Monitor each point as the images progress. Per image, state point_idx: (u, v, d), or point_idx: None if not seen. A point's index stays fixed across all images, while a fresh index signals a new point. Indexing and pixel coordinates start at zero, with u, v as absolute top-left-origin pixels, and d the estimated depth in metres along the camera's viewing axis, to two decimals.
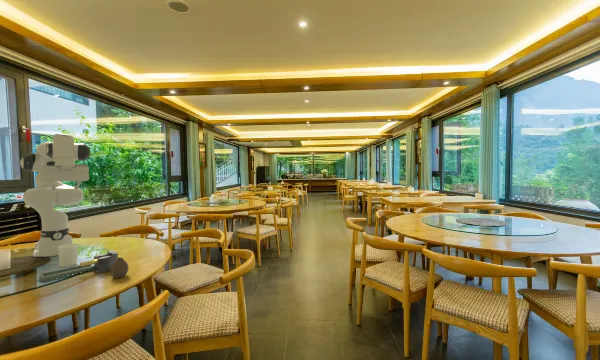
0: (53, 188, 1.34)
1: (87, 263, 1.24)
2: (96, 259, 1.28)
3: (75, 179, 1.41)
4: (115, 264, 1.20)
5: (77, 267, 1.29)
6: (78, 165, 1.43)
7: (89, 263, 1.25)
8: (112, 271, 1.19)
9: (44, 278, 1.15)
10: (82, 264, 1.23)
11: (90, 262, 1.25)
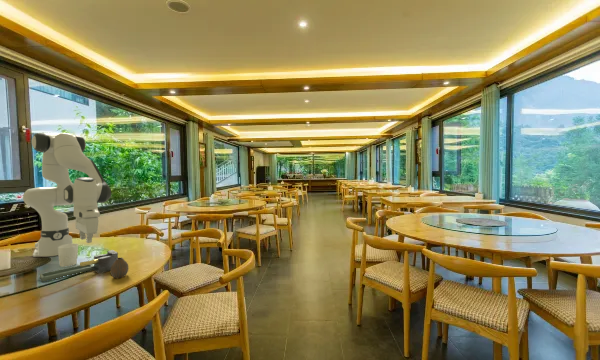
0: None
1: (87, 263, 1.24)
2: (96, 259, 1.28)
3: None
4: (115, 264, 1.20)
5: (77, 267, 1.29)
6: None
7: (89, 263, 1.25)
8: (112, 271, 1.19)
9: (44, 278, 1.15)
10: (82, 264, 1.23)
11: (90, 262, 1.25)
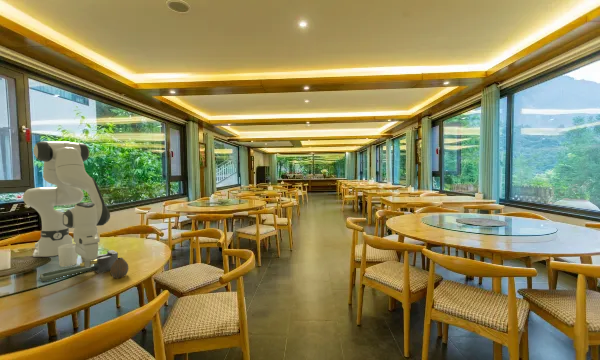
0: None
1: None
2: (96, 259, 1.27)
3: None
4: (115, 264, 1.20)
5: (77, 267, 1.29)
6: None
7: None
8: (112, 271, 1.19)
9: (44, 278, 1.15)
10: (82, 265, 1.23)
11: (90, 262, 1.25)
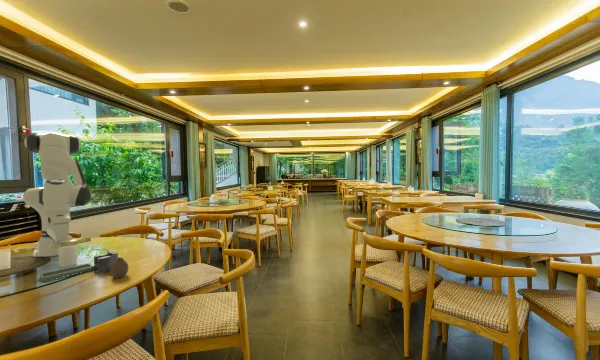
0: None
1: None
2: (68, 241, 1.19)
3: None
4: (115, 264, 1.20)
5: (77, 267, 1.29)
6: None
7: None
8: (112, 271, 1.19)
9: (44, 278, 1.15)
10: (52, 246, 1.14)
11: (61, 244, 1.17)
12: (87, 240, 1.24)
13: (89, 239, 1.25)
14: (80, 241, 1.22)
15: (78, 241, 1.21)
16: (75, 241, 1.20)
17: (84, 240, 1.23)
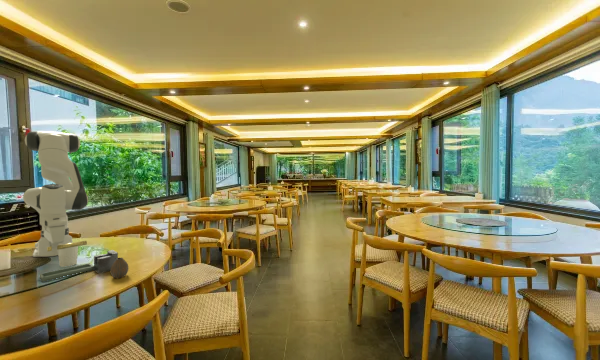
0: (56, 248, 1.19)
1: None
2: (65, 244, 1.23)
3: None
4: (115, 264, 1.20)
5: (77, 267, 1.29)
6: None
7: (57, 248, 1.20)
8: (112, 271, 1.19)
9: (44, 278, 1.15)
10: (49, 249, 1.18)
11: (58, 247, 1.20)
12: (83, 243, 1.28)
13: (85, 242, 1.28)
14: (76, 244, 1.25)
15: (74, 244, 1.25)
16: (71, 244, 1.24)
17: (80, 243, 1.27)
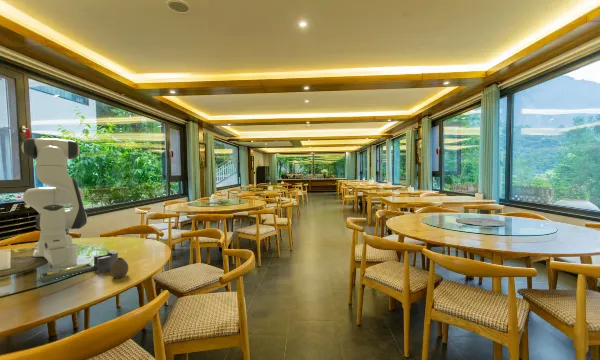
0: None
1: (54, 273, 1.20)
2: None
3: None
4: (115, 264, 1.20)
5: None
6: None
7: (57, 273, 1.20)
8: (112, 271, 1.19)
9: (44, 278, 1.15)
10: (49, 274, 1.18)
11: (58, 272, 1.21)
12: (83, 267, 1.28)
13: (85, 266, 1.29)
14: (76, 269, 1.26)
15: (74, 269, 1.25)
16: (71, 269, 1.24)
17: (80, 268, 1.27)
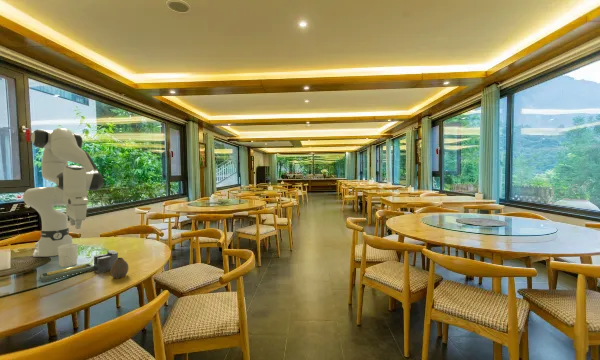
0: None
1: (54, 273, 1.20)
2: None
3: None
4: (115, 264, 1.20)
5: None
6: None
7: (57, 273, 1.20)
8: (112, 271, 1.19)
9: (44, 278, 1.15)
10: (49, 274, 1.18)
11: (58, 272, 1.21)
12: (83, 267, 1.28)
13: (85, 266, 1.29)
14: (76, 268, 1.26)
15: (74, 268, 1.25)
16: (71, 268, 1.25)
17: (80, 267, 1.27)
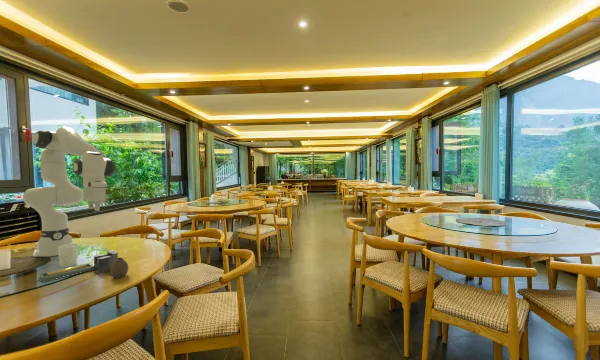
0: None
1: (54, 273, 1.20)
2: (65, 269, 1.23)
3: None
4: (115, 264, 1.20)
5: None
6: None
7: (57, 273, 1.20)
8: (112, 271, 1.19)
9: (44, 278, 1.15)
10: (49, 274, 1.18)
11: (58, 272, 1.21)
12: None
13: (85, 267, 1.29)
14: (76, 269, 1.26)
15: (74, 269, 1.25)
16: (71, 269, 1.24)
17: (80, 268, 1.27)
